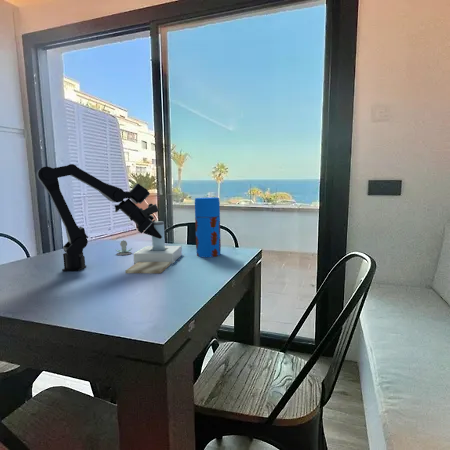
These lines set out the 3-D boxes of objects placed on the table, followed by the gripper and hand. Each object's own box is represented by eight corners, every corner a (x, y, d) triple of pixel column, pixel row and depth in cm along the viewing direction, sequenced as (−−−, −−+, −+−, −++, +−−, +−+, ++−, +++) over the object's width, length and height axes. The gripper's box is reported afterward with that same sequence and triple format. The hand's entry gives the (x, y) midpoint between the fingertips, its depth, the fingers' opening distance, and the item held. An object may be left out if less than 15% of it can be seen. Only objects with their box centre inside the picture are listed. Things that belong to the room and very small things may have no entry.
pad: (125, 273, 117) (125, 270, 117) (138, 264, 130) (138, 261, 130) (161, 273, 116) (160, 270, 116) (170, 264, 128) (170, 261, 128)
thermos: (193, 253, 147) (191, 198, 144) (214, 251, 152) (213, 197, 148) (201, 258, 137) (199, 198, 134) (224, 255, 142) (223, 197, 139)
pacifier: (132, 255, 148) (132, 252, 154) (131, 241, 147) (131, 239, 153) (115, 256, 147) (116, 253, 152) (114, 242, 146) (115, 240, 151)
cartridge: (151, 253, 136) (149, 222, 134) (154, 251, 141) (153, 221, 139) (163, 253, 135) (161, 222, 134) (166, 251, 141) (165, 221, 139)
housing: (133, 263, 131) (133, 253, 131) (147, 254, 147) (146, 245, 147) (172, 263, 130) (172, 253, 129) (182, 254, 146) (181, 245, 145)
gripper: (144, 198, 126) (175, 225, 129) (148, 196, 144) (174, 220, 147) (124, 219, 125) (155, 246, 128) (130, 215, 144) (157, 238, 147)
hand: (161, 236), depth 138 cm, fingers closed on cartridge, 5 cm apart
